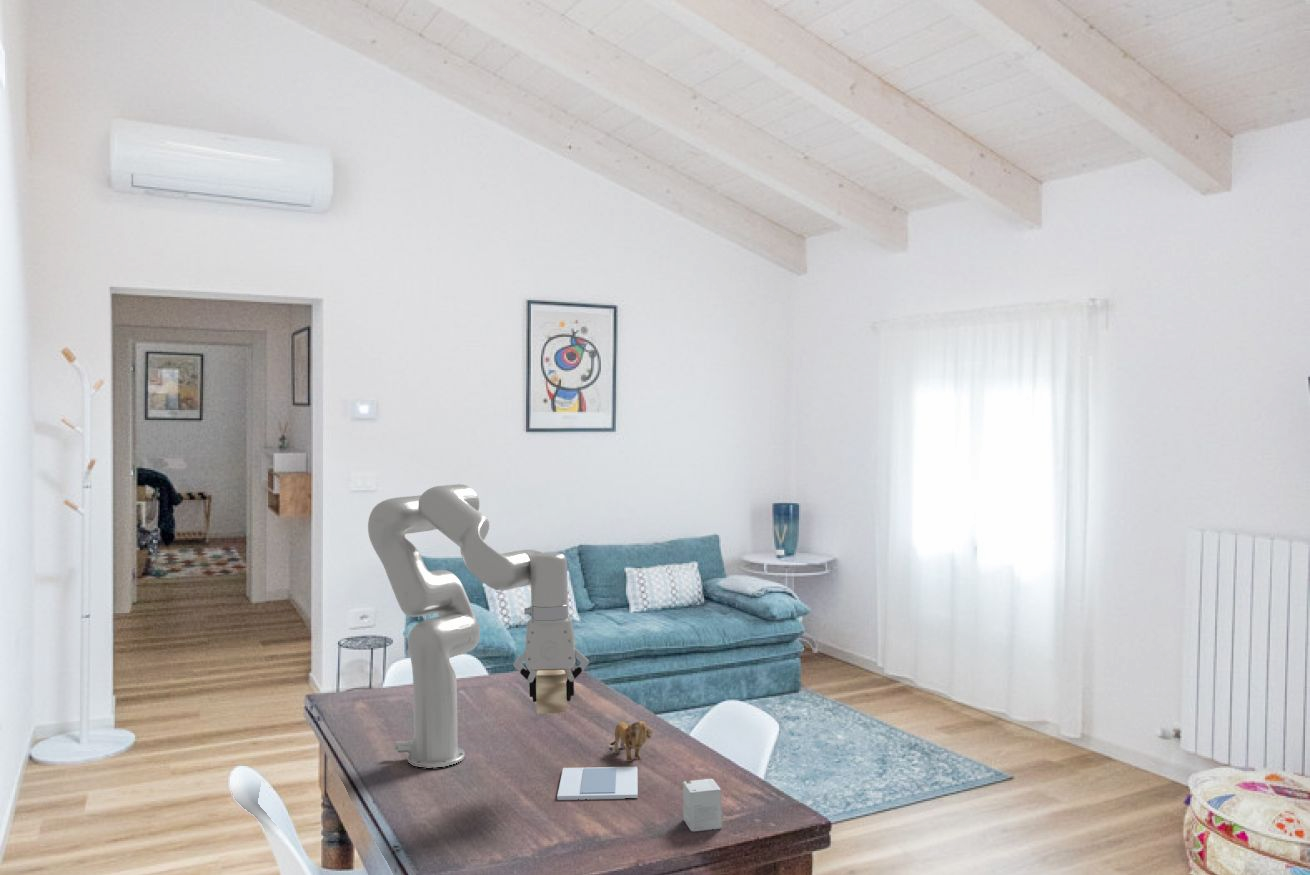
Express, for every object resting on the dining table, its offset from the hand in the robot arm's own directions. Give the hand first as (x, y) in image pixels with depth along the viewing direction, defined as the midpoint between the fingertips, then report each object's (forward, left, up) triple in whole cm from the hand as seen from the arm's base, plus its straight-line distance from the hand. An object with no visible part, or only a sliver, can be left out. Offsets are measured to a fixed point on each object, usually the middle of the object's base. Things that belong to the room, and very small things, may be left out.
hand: (552, 699), depth 204 cm
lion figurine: (+16, +18, -18) cm, 30 cm away
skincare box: (+29, -21, -18) cm, 40 cm away
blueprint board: (+9, 0, -18) cm, 20 cm away
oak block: (0, 0, -1) cm, 1 cm away
